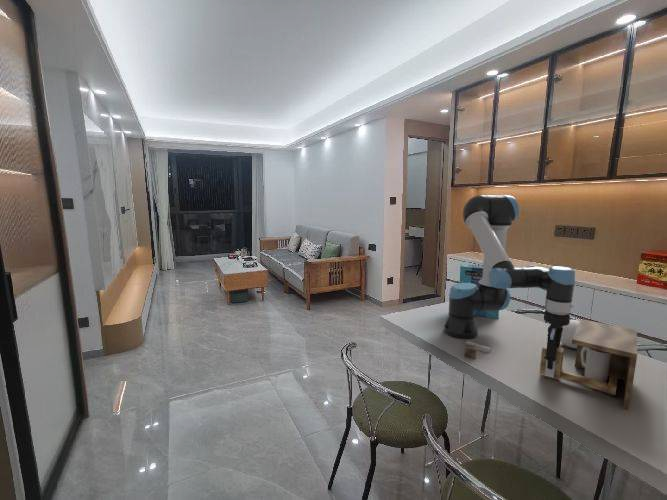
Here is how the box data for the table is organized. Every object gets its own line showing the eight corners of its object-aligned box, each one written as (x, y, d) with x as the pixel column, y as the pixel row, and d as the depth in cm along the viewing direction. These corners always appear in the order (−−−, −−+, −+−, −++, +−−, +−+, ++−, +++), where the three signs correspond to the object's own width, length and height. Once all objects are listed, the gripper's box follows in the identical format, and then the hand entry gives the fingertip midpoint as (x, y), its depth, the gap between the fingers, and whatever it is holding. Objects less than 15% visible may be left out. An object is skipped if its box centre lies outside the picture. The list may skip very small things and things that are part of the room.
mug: (612, 385, 115) (617, 352, 113) (595, 386, 114) (599, 353, 112) (587, 370, 125) (591, 339, 123) (571, 371, 124) (574, 341, 122)
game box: (498, 315, 182) (502, 266, 177) (498, 319, 176) (502, 269, 172) (458, 310, 190) (461, 263, 186) (457, 314, 184) (460, 265, 180)
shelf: (566, 391, 111) (572, 339, 108) (575, 364, 129) (580, 319, 126) (628, 411, 101) (637, 354, 98) (629, 379, 119) (636, 329, 116)
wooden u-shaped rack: (539, 373, 120) (542, 347, 119) (546, 359, 131) (549, 335, 129) (615, 396, 107) (619, 367, 105) (616, 378, 117) (620, 352, 115)
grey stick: (465, 346, 146) (465, 342, 145) (467, 344, 147) (467, 340, 147) (488, 353, 139) (489, 349, 139) (490, 352, 140) (491, 347, 140)
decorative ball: (593, 355, 136) (597, 327, 135) (559, 350, 141) (562, 323, 139) (583, 343, 148) (586, 317, 146) (552, 339, 152) (554, 314, 150)
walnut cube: (464, 357, 135) (465, 348, 135) (465, 353, 139) (466, 344, 138) (475, 359, 134) (475, 350, 133) (475, 355, 137) (476, 346, 137)
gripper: (566, 321, 107) (558, 387, 111) (573, 307, 120) (566, 368, 124) (539, 315, 112) (533, 379, 116) (549, 303, 125) (543, 361, 129)
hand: (550, 373), depth 120 cm, fingers closed on wooden u-shaped rack, 4 cm apart
